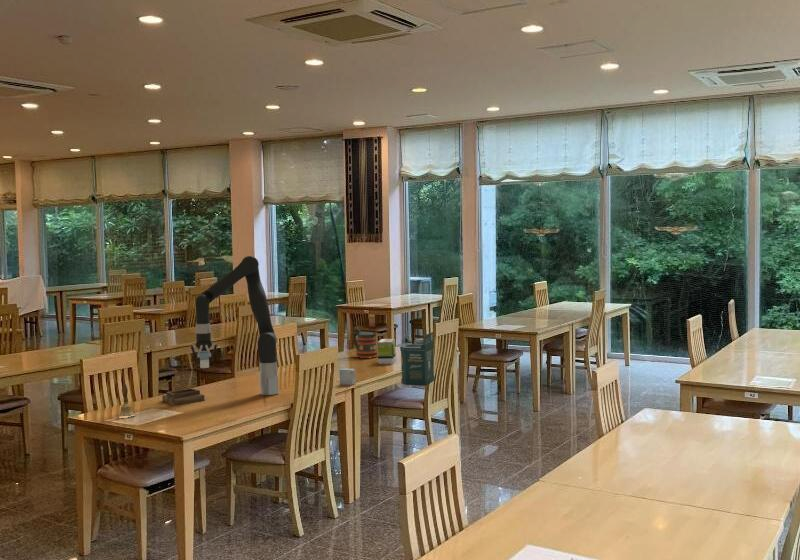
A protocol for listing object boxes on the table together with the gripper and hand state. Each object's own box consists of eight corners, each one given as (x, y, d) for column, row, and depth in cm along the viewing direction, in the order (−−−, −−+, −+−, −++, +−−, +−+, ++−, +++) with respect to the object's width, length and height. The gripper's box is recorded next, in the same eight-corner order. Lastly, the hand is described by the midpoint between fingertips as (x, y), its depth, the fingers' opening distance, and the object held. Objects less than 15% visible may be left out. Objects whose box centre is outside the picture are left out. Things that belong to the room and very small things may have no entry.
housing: (209, 367, 419) (208, 352, 419) (200, 368, 418) (199, 353, 418) (208, 365, 428) (208, 350, 428) (200, 365, 427) (199, 350, 426)
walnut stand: (204, 400, 417) (204, 391, 417) (175, 405, 407) (175, 395, 406) (191, 396, 429) (190, 387, 429) (162, 400, 419) (162, 391, 419)
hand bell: (118, 419, 378) (116, 386, 377) (116, 416, 386) (115, 383, 385) (136, 417, 381) (134, 384, 380) (134, 414, 389) (133, 381, 388)
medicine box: (355, 383, 452) (355, 368, 451) (352, 385, 448) (352, 370, 447) (343, 383, 455) (342, 368, 454) (339, 384, 450) (339, 369, 450)
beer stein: (347, 357, 550) (346, 328, 549) (359, 354, 563) (358, 326, 561) (369, 359, 540) (369, 330, 539) (381, 356, 553) (380, 327, 551)
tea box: (381, 360, 534) (380, 338, 533) (396, 360, 533) (395, 338, 532) (377, 364, 519) (377, 341, 518) (393, 364, 518) (392, 341, 517)
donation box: (425, 385, 441) (424, 335, 439) (398, 384, 446) (397, 334, 445) (434, 380, 456) (433, 331, 454) (408, 379, 461) (406, 331, 460)
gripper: (189, 333, 417) (190, 366, 418) (217, 332, 420) (218, 364, 421) (189, 331, 424) (190, 363, 425) (216, 330, 428) (218, 362, 429)
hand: (204, 363), depth 423 cm, fingers closed on housing, 4 cm apart
